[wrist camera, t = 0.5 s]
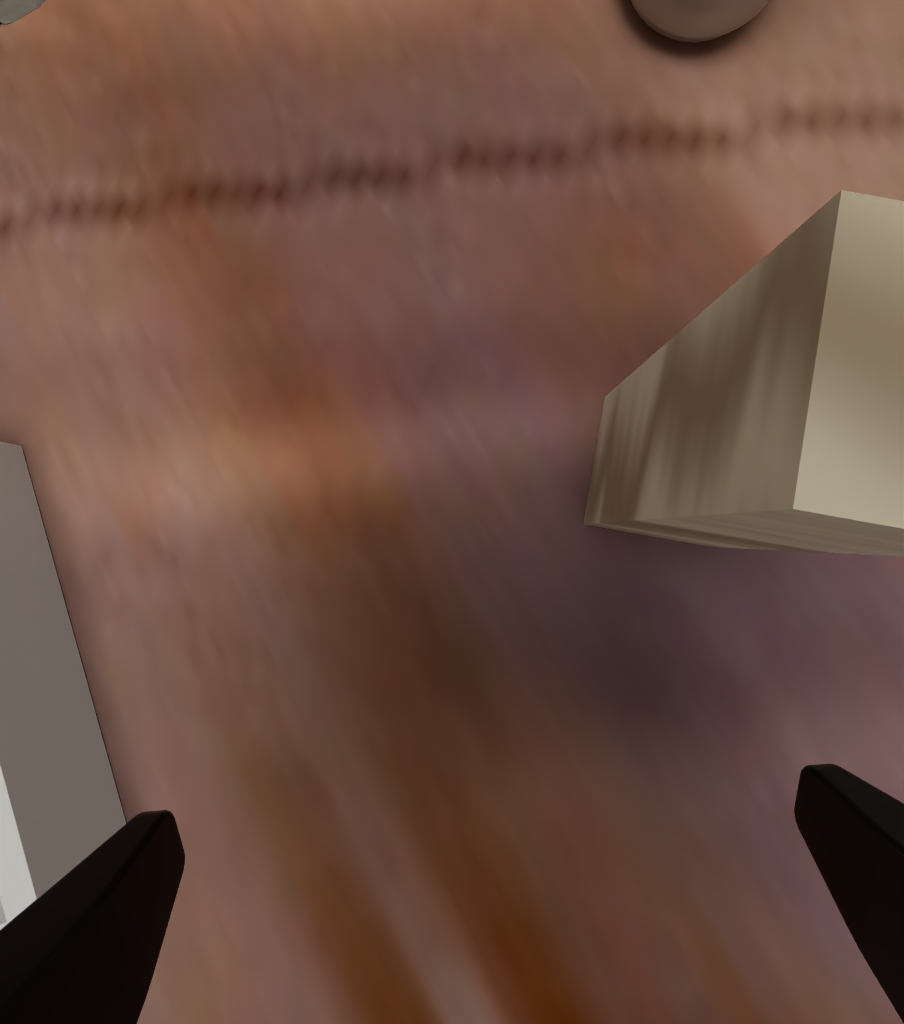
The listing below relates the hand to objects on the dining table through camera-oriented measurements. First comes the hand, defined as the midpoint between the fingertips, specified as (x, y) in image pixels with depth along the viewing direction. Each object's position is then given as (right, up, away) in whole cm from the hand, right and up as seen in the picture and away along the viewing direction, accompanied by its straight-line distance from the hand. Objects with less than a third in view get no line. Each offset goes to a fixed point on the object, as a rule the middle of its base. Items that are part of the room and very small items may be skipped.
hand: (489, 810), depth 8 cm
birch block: (+7, +6, +14) cm, 17 cm away
